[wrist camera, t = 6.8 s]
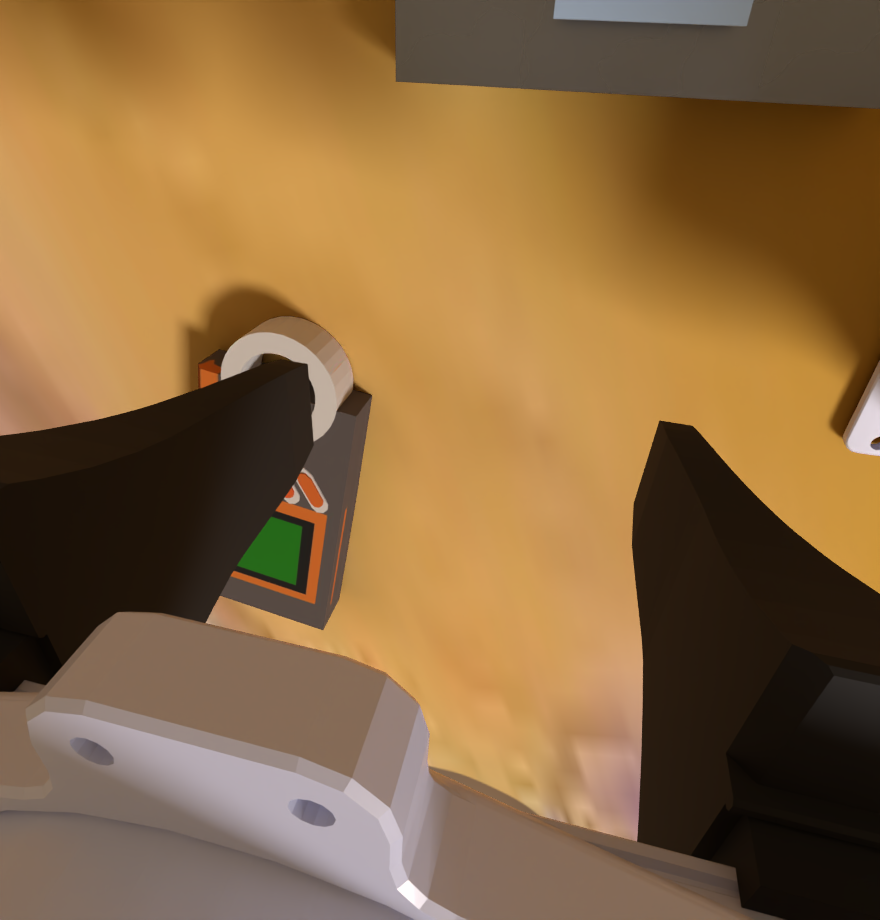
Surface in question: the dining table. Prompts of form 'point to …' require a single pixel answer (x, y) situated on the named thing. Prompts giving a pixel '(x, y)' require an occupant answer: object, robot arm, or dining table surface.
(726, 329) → the dining table surface
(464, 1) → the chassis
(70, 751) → the robot arm
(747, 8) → the block
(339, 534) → the electronic device
